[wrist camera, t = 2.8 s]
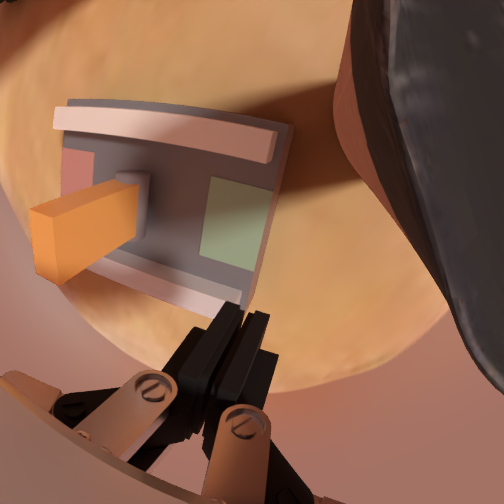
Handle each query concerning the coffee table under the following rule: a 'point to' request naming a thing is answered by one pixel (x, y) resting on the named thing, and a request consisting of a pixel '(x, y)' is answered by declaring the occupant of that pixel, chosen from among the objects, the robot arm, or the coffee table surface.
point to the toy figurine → (7, 1)
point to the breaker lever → (88, 224)
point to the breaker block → (182, 193)
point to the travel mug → (435, 146)
